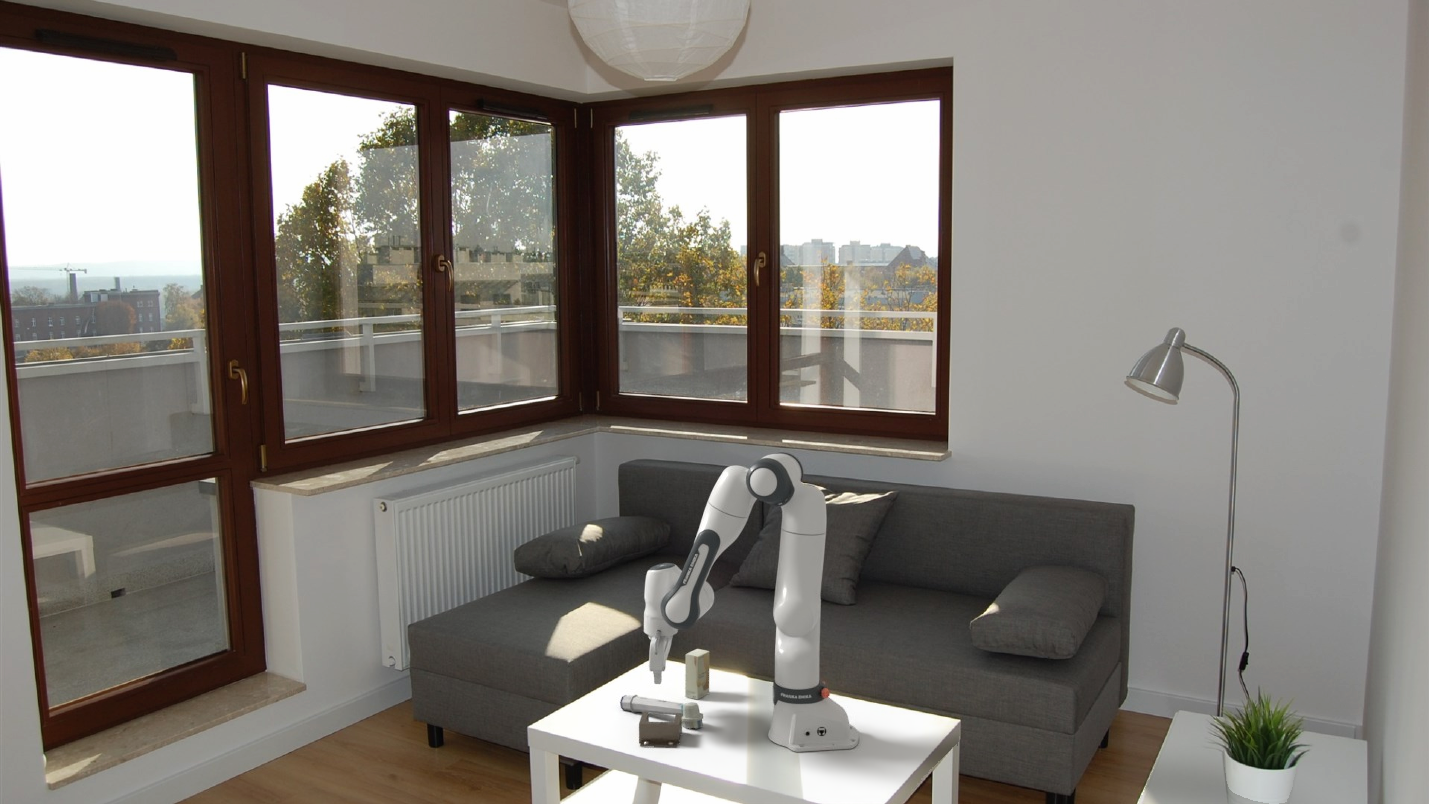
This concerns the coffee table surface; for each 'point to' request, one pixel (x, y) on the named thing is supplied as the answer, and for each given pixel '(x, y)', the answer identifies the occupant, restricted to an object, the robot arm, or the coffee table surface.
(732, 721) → the coffee table surface
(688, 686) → the skincare box
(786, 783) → the coffee table surface
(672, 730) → the bracket
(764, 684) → the coffee table surface
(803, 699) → the robot arm
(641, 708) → the white handheld device
